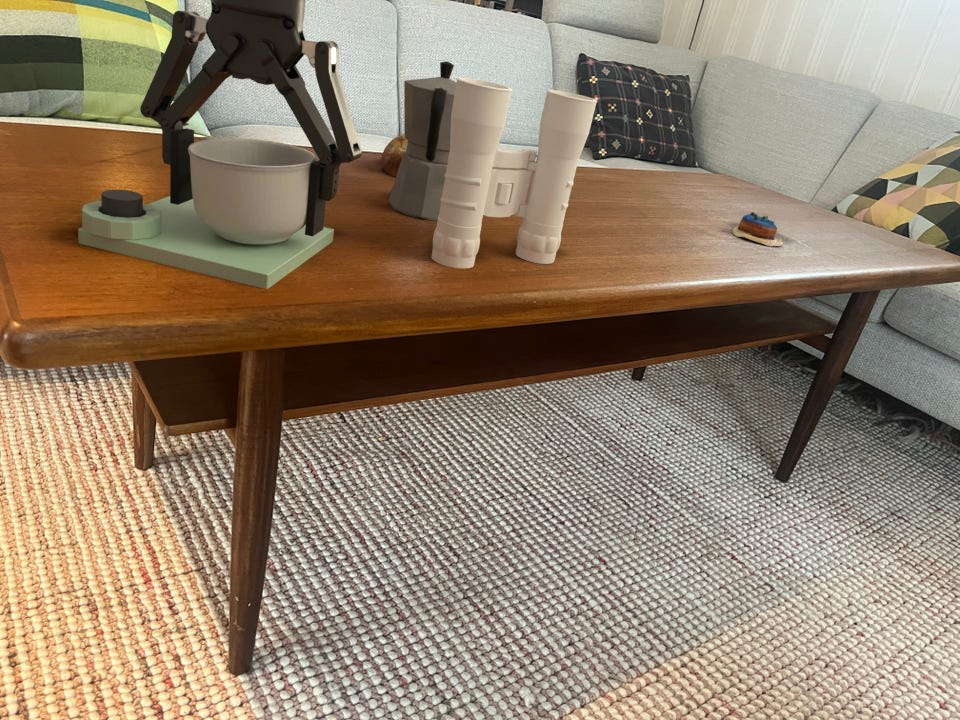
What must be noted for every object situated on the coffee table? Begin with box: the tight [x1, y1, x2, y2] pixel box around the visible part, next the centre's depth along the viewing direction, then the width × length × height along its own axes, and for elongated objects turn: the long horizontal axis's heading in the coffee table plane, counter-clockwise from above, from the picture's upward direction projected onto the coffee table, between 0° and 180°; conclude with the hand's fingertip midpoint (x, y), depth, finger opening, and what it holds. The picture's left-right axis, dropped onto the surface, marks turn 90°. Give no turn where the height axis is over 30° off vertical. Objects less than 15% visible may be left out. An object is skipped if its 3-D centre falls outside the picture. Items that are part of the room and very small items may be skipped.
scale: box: [77, 195, 335, 290], centre depth 68 cm, size 18×16×3 cm
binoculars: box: [431, 77, 598, 269], centre depth 77 cm, size 17×5×18 cm, turn 127°
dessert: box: [732, 211, 784, 247], centre depth 116 cm, size 8×7×6 cm
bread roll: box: [381, 133, 408, 177], centre depth 110 cm, size 10×10×8 cm
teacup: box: [188, 135, 317, 244], centre depth 67 cm, size 14×11×8 cm
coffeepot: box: [388, 61, 457, 222], centre depth 89 cm, size 15×9×18 cm, turn 179°
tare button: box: [100, 189, 144, 218], centre depth 63 cm, size 3×3×2 cm
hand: (247, 216), depth 68 cm, fingers closed on teacup, 12 cm apart
